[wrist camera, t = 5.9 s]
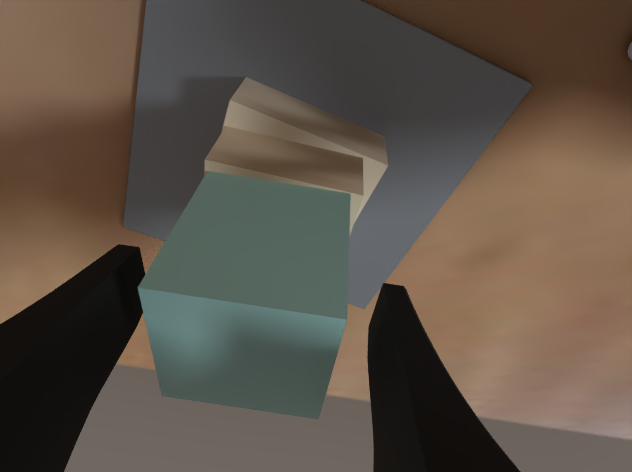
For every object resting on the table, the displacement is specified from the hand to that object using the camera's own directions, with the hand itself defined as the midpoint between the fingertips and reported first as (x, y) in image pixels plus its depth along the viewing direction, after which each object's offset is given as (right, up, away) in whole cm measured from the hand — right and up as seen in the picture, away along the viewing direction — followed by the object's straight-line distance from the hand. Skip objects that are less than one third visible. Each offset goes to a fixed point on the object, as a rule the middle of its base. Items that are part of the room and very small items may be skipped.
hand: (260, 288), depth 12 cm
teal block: (0, +2, +2) cm, 2 cm away
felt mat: (+1, +5, +6) cm, 8 cm away
